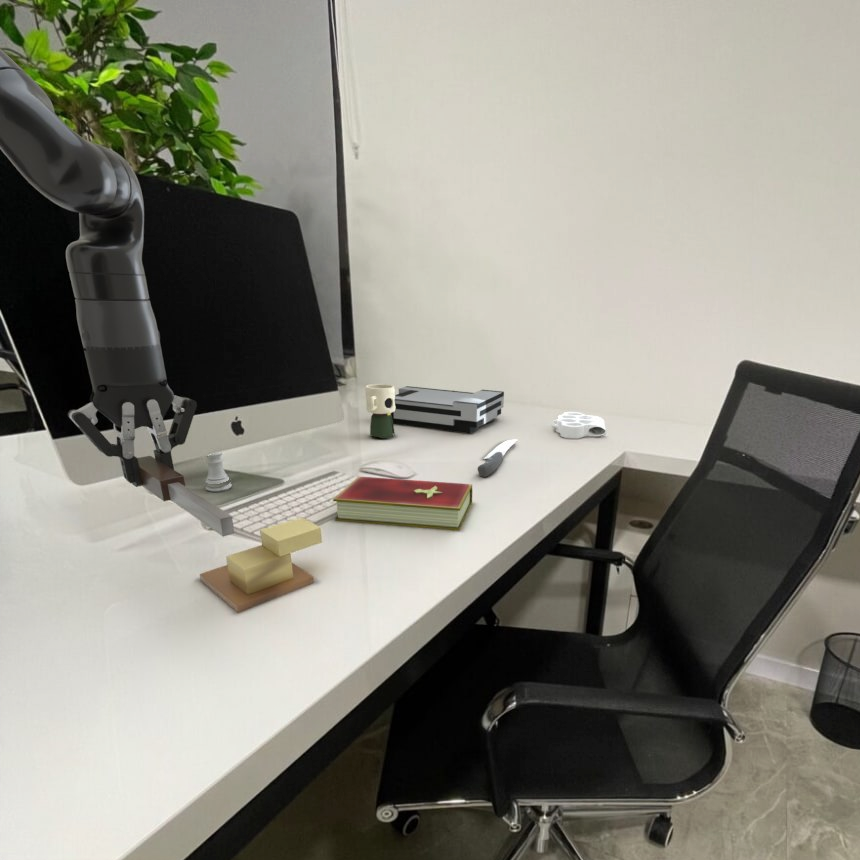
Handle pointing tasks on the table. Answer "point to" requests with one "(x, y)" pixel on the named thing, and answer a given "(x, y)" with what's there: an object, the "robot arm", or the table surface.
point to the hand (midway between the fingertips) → (151, 481)
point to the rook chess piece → (216, 473)
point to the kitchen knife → (494, 458)
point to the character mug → (381, 409)
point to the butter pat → (290, 536)
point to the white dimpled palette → (579, 425)
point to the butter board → (256, 598)
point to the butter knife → (182, 495)
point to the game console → (446, 408)
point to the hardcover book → (405, 503)
